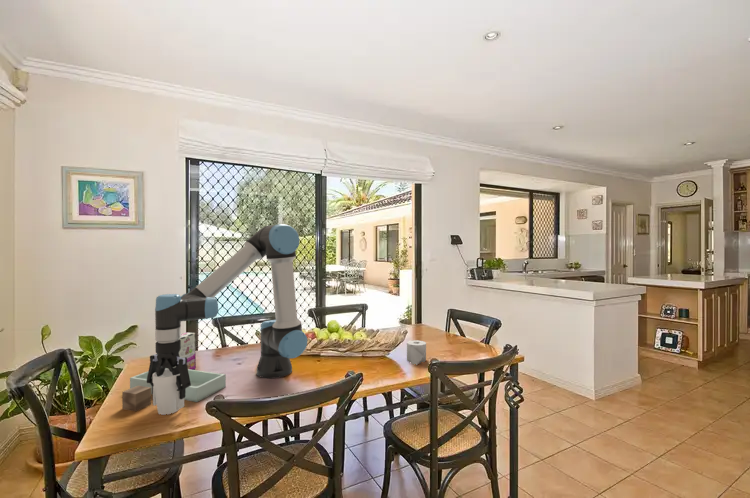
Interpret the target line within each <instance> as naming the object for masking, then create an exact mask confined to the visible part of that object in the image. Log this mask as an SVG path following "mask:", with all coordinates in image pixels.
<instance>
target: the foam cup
mask: <svg viewBox="0 0 750 498" xmlns="http://www.w3.org/2000/svg"><path fill="white" fill-rule="evenodd" d="M179 375H180V374H177V375H172V372H170V371H169V369H165V370H164V373H163V375H161V376H159V377H157V372H155V373H153V384H154V391H155V397H156V403H157V405H156V409H157V413H158V415H160V414H161V415H163V416H166V414H167V415H170V414H171V413H172V414H174V413H176V412H178V411H179V410H176V390H177V389H178V387H177V385H176V376H179ZM181 386H182V384H181ZM172 414H171V415H172Z"/></svg>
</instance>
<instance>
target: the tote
mask: <svg viewBox="0 0 750 498" xmlns="http://www.w3.org/2000/svg"><path fill="white" fill-rule="evenodd" d="M173 368H175V367H173ZM165 369H167V368H165ZM148 371H149V370H148ZM148 371H144V372H142V373H139V374H136V375H134V376H131V377H130V378H129V389H131V388H133V387H136V386H144V387H151V396H153V394H152V386H151V384H150V383H147V376H148ZM188 373H189V378H190V383H191V386H189V387H187V388H186V393H185V395H186V396H185V398H184V401H189V402H195V403H198V402H200V401H201V400H203V399H206V398H207V397H209V396H212V395H213V394H215V393H217V392H219V391H221V390H222V389H224V388H226V387H227V386H226V383H227V381H226V380H227V378H226V376H227V375H226V373H220V372H219V373H218V372H211V371H206V370H204V371H203V370H198V369H197V370H196V369H194V370H191V369H188Z"/></svg>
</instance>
